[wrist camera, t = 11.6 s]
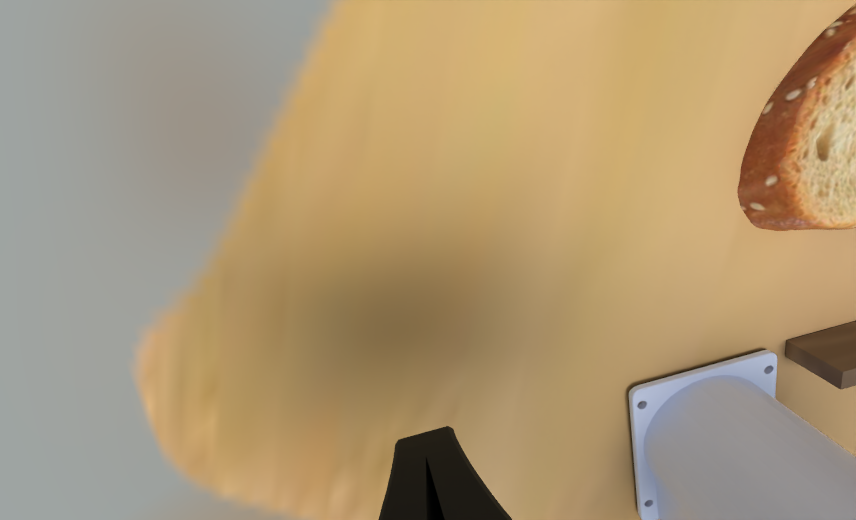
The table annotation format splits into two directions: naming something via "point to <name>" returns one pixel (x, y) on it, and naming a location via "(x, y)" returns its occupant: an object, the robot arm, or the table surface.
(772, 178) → the bread slice
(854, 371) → the frame
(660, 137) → the table surface
